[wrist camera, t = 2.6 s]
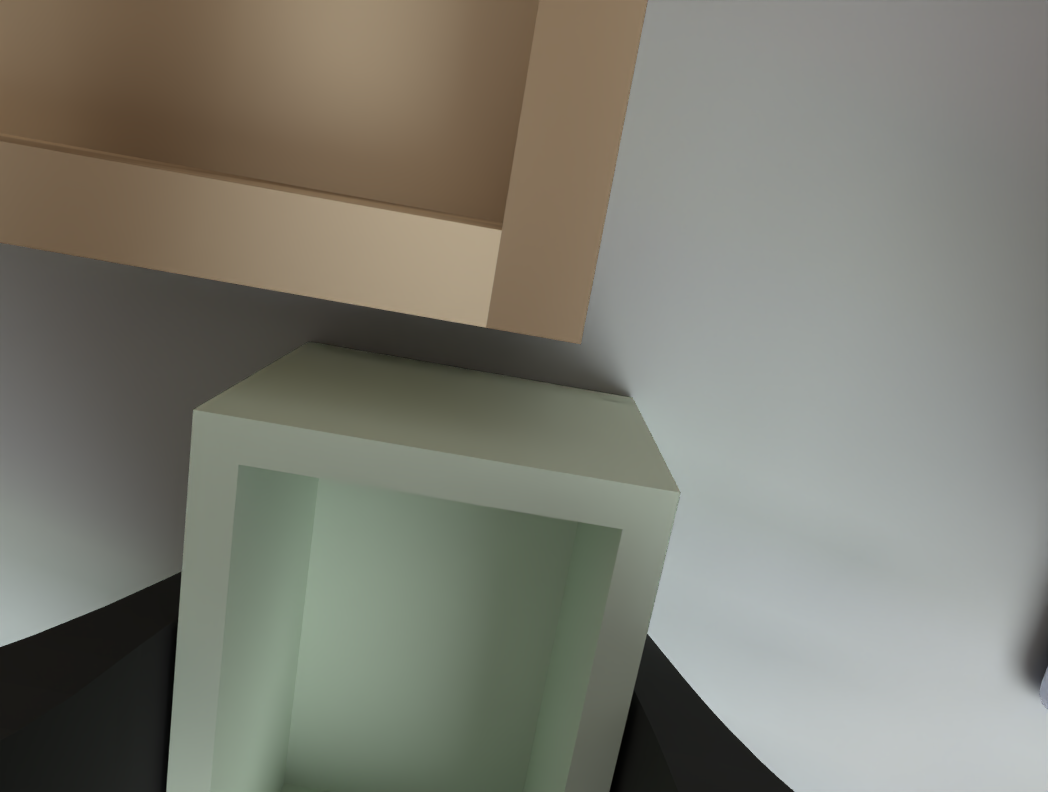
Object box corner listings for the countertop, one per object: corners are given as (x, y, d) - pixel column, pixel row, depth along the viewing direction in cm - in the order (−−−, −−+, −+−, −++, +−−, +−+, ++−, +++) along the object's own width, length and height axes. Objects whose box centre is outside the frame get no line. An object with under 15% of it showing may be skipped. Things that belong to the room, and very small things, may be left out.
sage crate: (632, 397, 12) (680, 492, 8) (540, 825, 14) (542, 1073, 10) (308, 341, 12) (193, 409, 8) (262, 781, 13) (150, 1014, 10)
